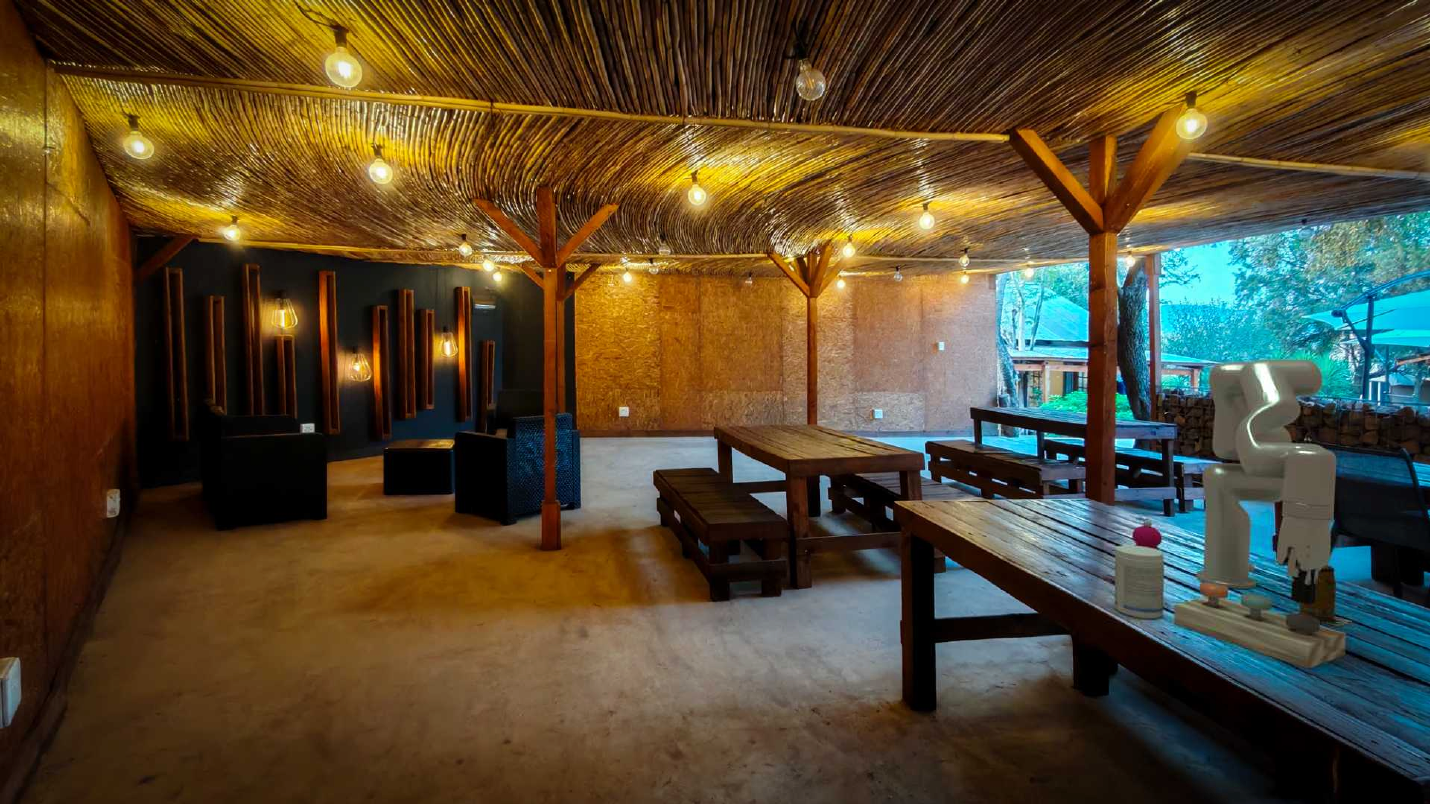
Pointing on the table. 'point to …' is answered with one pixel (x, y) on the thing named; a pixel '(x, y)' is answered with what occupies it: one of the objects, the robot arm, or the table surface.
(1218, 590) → the button vermilion
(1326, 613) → the condiment
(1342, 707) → the table surface
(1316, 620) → the button charcoal
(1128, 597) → the supplement tub
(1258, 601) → the button teal
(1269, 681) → the table surface
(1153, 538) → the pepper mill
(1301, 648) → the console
